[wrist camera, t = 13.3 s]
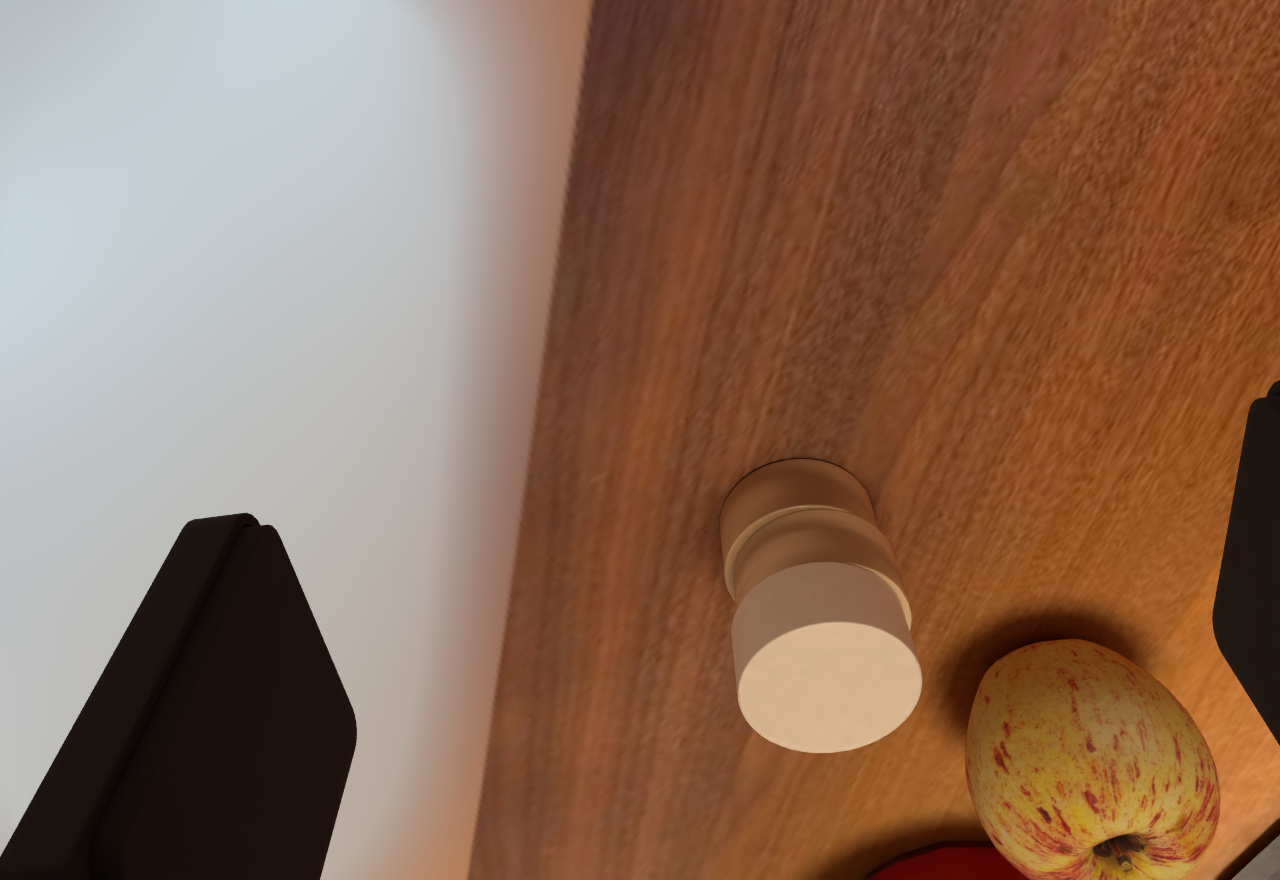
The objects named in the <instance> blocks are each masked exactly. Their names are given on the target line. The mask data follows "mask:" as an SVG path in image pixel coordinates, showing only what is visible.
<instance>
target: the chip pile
mask: <svg viewBox="0 0 1280 880" xmlns="http://www.w3.org/2000/svg"><path fill="white" fill-rule="evenodd" d="M719 524H720V537H721V547H722V557H723V566H724V576H725V582H726V586H727V588H728V591H729V593H730V595H731V597H732V598H733V600H734V601H735V602H736V610H737V608H738V606H739V604H740V603H741V601H742V600H743V599H744V597H745V596H746V595H747V594H748V593H749V592H750V590H751V589H753V588H754V587H755V586H756V585H757V584H758V583H760V582H761V581H763V580H764V579H766V578H767V577H769V576H771V575H773V574H775V573H777V572H779V571H781V570H784V569H787V568H789V567H793V566H797V565H800V564H806V563H813V562H837V563H844V564H849V565H853V566H857V567H860V568H862V569H865V570H867V571H869V572H871V573H873V574H875V575H877V576H878V577H879V578H881V579H882V580H884V581H885V582H886V583H887V584H888V585H889V586H890V587H891V588H892V589H893V591H894V592H895V593H896V595H897V596H898V598H899V600H900V602H901V605H902V608H903V611H904V615H905V618H906V621H907V625H908V628H909V632H910V629H911V619H912V617H911V609H910V606H909V603H908V599H907V596H906V593H905V590H904V586H903V583H902V580H901V577H900V573H899V570H898V567H897V564H896V560H895V557H894V554H893V551H892V548H891V546H890V544H889V542H888V540H887V539H886V538H885V536H884V535H883V534H882V533H881V532H880V531H879V529H878V525H877V522H876V519H875V515H874V512H873V509H872V505H871V502H870V499H869V496H868V494H867V492H866V490H865V489H864V487H863V486H862V485H861V483H860V482H859V481H858V480H857V479H856V478H855V477H854V476H852V475H851V474H850V473H848V472H847V471H845V470H843V469H842V468H840V467H838V466H835V465H833V464H830V463H827V462H823V461H819V460H812V459H790V460H784V461H779V462H776V463H772V464H769V465H767V466H764V467H762V468H760V469H758V470H756V471H754V472H753V473H751V474H750V475H748V476H747V477H745V478H744V479H743V480H742V481H741V482H740V483H738V484H737V485H736V487H735V488H734V489H733V490H732V491H731V493H730V494H729V496H728V497H727V499H726V501H725V503H724V505H723V508H722V511H721V515H720V523H719Z"/></svg>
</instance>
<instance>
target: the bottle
mask: <svg viewBox="0 0 1280 880" xmlns="http://www.w3.org/2000/svg"><path fill="white" fill-rule="evenodd" d="M865 880H1030V879H1029V878H1027V877H1026V876H1025V875H1023V874H1022V873H1021V872H1020V871H1019V870H1018V869H1016V868H1015V867H1014V866H1013V865H1012V864H1011V863H1010V862H1009V861H1008V860H1007V859H1006V858H1004V857H1003V856H1002V854H1001V853H1000V852H999V851H998V850H997V849H996V847H995V846H994V844H993V843H992V842H942V843H939V844H935V845H932V846H929V847H925V848H922V849H919V850H915V851H912V852H909V853H905V854H902V855H899V856H897V857H895V858H894V859H892V860H891V861H889V862H887V863H886V864H884V865H882V866H881V867H879V868H877V869H876V870H874V871H872V872H871V873H869V874H868V875H867V876H866V878H865Z"/></svg>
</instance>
